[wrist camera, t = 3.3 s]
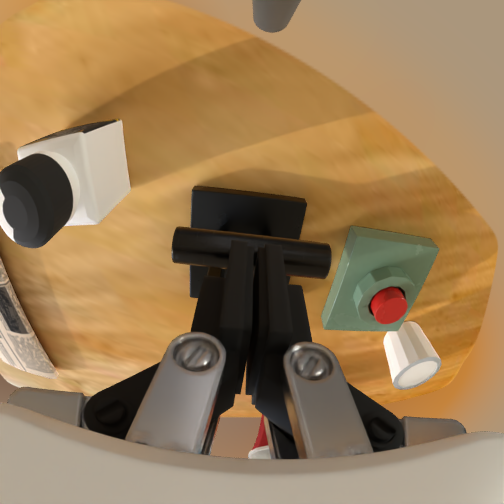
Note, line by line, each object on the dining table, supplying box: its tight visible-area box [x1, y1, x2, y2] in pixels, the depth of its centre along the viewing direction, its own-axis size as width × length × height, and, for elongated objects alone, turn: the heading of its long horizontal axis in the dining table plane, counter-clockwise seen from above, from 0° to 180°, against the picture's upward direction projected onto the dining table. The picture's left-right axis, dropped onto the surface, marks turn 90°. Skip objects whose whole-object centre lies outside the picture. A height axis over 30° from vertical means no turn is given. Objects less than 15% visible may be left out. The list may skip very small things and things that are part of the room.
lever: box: [172, 226, 331, 279], centre depth 16 cm, size 12×6×2 cm, turn 173°
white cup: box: [383, 321, 441, 390], centre depth 33 cm, size 7×7×7 cm
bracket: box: [190, 186, 307, 298], centre depth 24 cm, size 12×10×13 cm
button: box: [371, 287, 408, 324], centre depth 27 cm, size 4×4×2 cm
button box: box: [321, 226, 439, 331], centre depth 29 cm, size 12×10×4 cm
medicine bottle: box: [0, 119, 131, 248], centre depth 19 cm, size 7×7×12 cm
